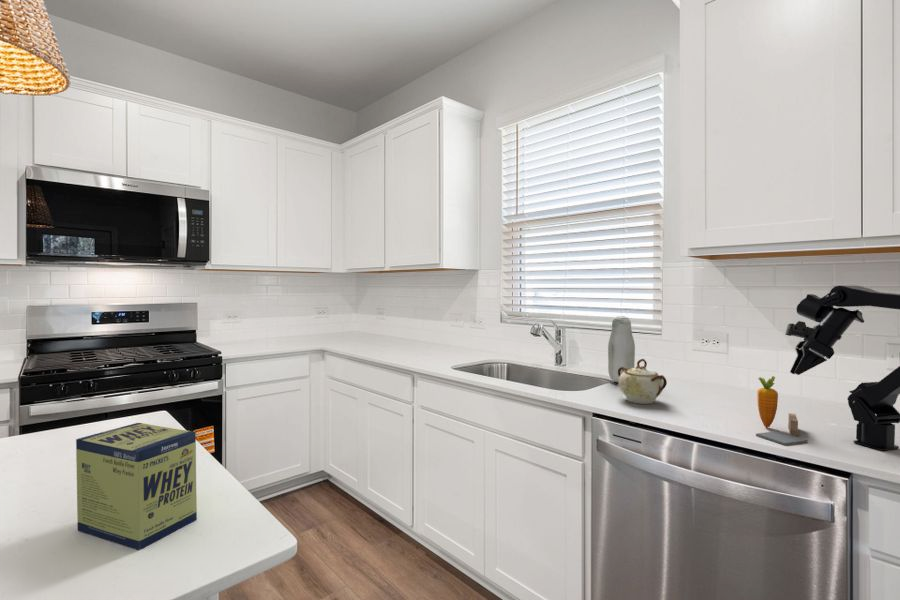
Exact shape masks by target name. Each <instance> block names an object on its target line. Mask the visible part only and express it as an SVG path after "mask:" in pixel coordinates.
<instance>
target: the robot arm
mask: <svg viewBox="0 0 900 600" xmlns="http://www.w3.org/2000/svg"><path fill="white" fill-rule="evenodd" d="M836 307H837V308H836ZM847 307H849V308H851V307H853V308H854V307H857V308H859V307H874V308H876V307H877V308H884V309H891V310H892V309H893V310H899V311H900V293H895V292H893V293H892V292H881V291H877V290H873V289H871V288H869V287H864V286H861V285H834V286H833V287H832V288H831V290H829V292H828V293H827V294H825V295H824V296H822V297H820V296H818V295H816V294H813V293H810V294H806V297H805V298H803V299H802V300H801V301H800V302H799V303H798V304H797V306H796V313H797V315H798V316H801V317H803V318H806V319H809V320H811V321H813V322H816V323H818V324H817V325H814V326H813V327H810V326H807V324H806V322H805V321H801V320H798V321H796V323H790V322H789V323H787V327H786V330H785V335H786V336H789V337H790V336H793V337H797V338H801V339H802V338H803V339H802V341H801V340H800V341H798V343H797V344H796V345H795V349H794V351H795V352H796V357H795V360H794V362H793V364H792V366H791V368H790V371H789V372H790V373H791V374H792V375H796V376H799V375H802V374H803V373H805V372H807V371H809V370H812V369H813V368H816V367H817V366H819V365H821V364H822V363H824V362H827V361H828V360H830V359H831V358H832V357H833V356H834V355H835V351H834V348H833V346H834V345H835V344H836V342H838V341H840V340H841V339H842V338H843V335H844V333H845V332H846V331H847V330H848V328H849V327H850V326H851V325H852V324H853V322H854V321H857V322H859V323H862V324H863V323H864V322H865V319H864V317H863V313H862V312H861V311H860V310H859V309H856V310H855V309H854V310H850V309H847ZM849 393H850V394H849V395H848V397H847V404H848V407H849V408H850V409H849V410H850V412H851V415H852V417H853V420H854V421H857V422H858V423H856V429H855V430H856V431H855V439H856V440H853V443H854V444H857V445H861V446H865V447H868V448H870V449H874V450H877V451H889V450H896V449H899V448H900V447H899V446H898V445H895V439H896V437H895V436H896V424H900V412H899V411H898V410H897V409H896V407H895V406H894V405H895V404H896V403H897V399H898V397H899V395H900V365H899V366H898V367H896V368H895V369H894V370H893V371H891V372H890V373H889V374H887V375H886V376H884V377H883V378H882V379H881V380H879V381H870V382H868V381H867V382H861V383H859V384H858V385H857V386H856V388H854V389H852V390H849Z"/></svg>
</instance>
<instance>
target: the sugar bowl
mask: <svg viewBox="0 0 900 600" xmlns="http://www.w3.org/2000/svg"><path fill="white" fill-rule="evenodd" d="M642 362H643V364H644V365H641V366H640V363H642ZM647 363H648V362H647V360H646V359H645V358H641V359H639V360H638V361H637V362H636V367H634V368H632V369H627V368H624V367H620V368H619V369H618V375H619V380H618V383H617V384H618V387H619V389H620V391H621V392H622V394H623V395H624V396H625V397H626V399H627V401H628V402H630V403H634V404H641V405H649V404H650V405H651V404H653V403H654V402H655V401H656V399H657V398H658V397H659V396H661V393H662V392H663V391H664V389H665V388H666V386H667V383H668V382H667V378H666V377H665V376H664V375H662V374H661V375H660V374H659V373H658V372H656V371H654V370H652V369H650V368H647V367H648V366H647ZM621 370H623V371H622V372H621ZM620 372H621V374H620Z"/></svg>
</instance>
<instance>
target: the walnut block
mask: <svg viewBox="0 0 900 600" xmlns="http://www.w3.org/2000/svg"><path fill="white" fill-rule="evenodd" d="M787 417H788V423H787V425H788V426H787V428H788V432H789V435H793V436H796V437H799V436H798V433H799V430H798V429H799V421H798V418H797V414H796V413H788V416H787Z"/></svg>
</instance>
